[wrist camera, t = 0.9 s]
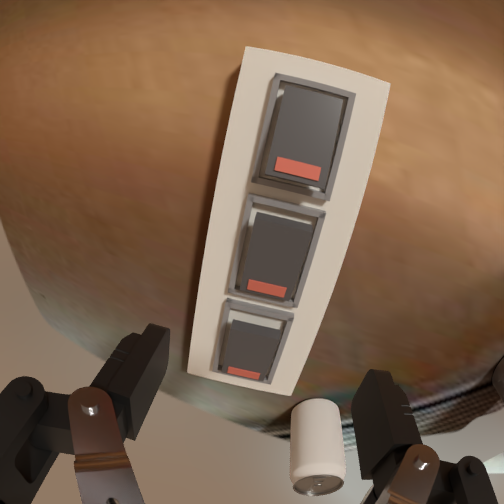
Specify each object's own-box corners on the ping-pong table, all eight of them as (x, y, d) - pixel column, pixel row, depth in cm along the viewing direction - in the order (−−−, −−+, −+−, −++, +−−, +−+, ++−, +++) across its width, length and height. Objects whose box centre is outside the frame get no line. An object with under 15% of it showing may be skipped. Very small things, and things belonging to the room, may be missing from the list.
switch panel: (380, 88, 24) (393, 82, 21) (290, 378, 36) (290, 400, 33) (249, 54, 24) (244, 43, 21) (193, 356, 36) (185, 377, 33)
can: (290, 426, 40) (288, 498, 29) (291, 397, 37) (289, 475, 26) (336, 424, 39) (343, 495, 28) (341, 394, 37) (351, 471, 26)
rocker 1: (339, 104, 22) (343, 99, 21) (322, 189, 23) (325, 188, 22) (284, 90, 22) (285, 84, 21) (265, 175, 23) (264, 173, 22)
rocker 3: (280, 329, 28) (279, 340, 27) (264, 372, 32) (262, 382, 31) (233, 319, 28) (230, 329, 27) (223, 363, 32) (221, 373, 31)
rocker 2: (312, 224, 24) (312, 233, 23) (290, 292, 28) (289, 302, 27) (256, 211, 24) (254, 219, 23) (241, 281, 28) (239, 291, 27)
